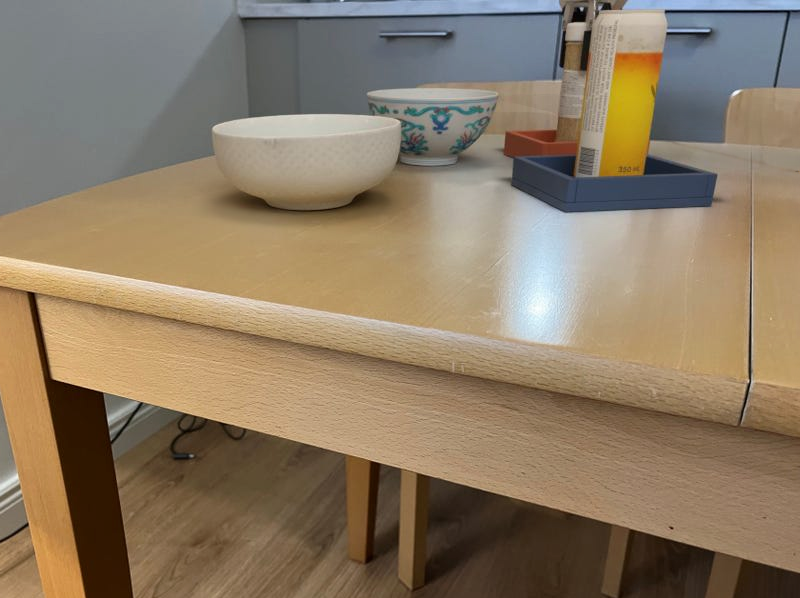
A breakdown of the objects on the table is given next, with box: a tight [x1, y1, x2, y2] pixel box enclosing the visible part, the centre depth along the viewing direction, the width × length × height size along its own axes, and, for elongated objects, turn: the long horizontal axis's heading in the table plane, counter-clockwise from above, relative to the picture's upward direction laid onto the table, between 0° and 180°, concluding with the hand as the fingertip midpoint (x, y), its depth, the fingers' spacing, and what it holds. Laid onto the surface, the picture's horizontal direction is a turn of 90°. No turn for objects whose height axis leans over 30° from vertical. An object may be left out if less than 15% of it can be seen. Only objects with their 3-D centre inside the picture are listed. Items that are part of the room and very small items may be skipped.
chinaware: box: [366, 87, 499, 167], centre depth 88 cm, size 15×15×8 cm
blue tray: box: [510, 153, 718, 213], centre depth 70 cm, size 14×13×3 cm
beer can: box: [574, 8, 669, 177], centre depth 68 cm, size 6×6×15 cm
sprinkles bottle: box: [554, 22, 590, 142], centre depth 86 cm, size 5×5×13 cm
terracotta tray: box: [503, 129, 651, 159], centre depth 89 cm, size 13×12×3 cm
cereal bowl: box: [211, 113, 401, 211], centre depth 68 cm, size 17×17×7 cm
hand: (583, 67), depth 86 cm, fingers closed on sprinkles bottle, 4 cm apart
